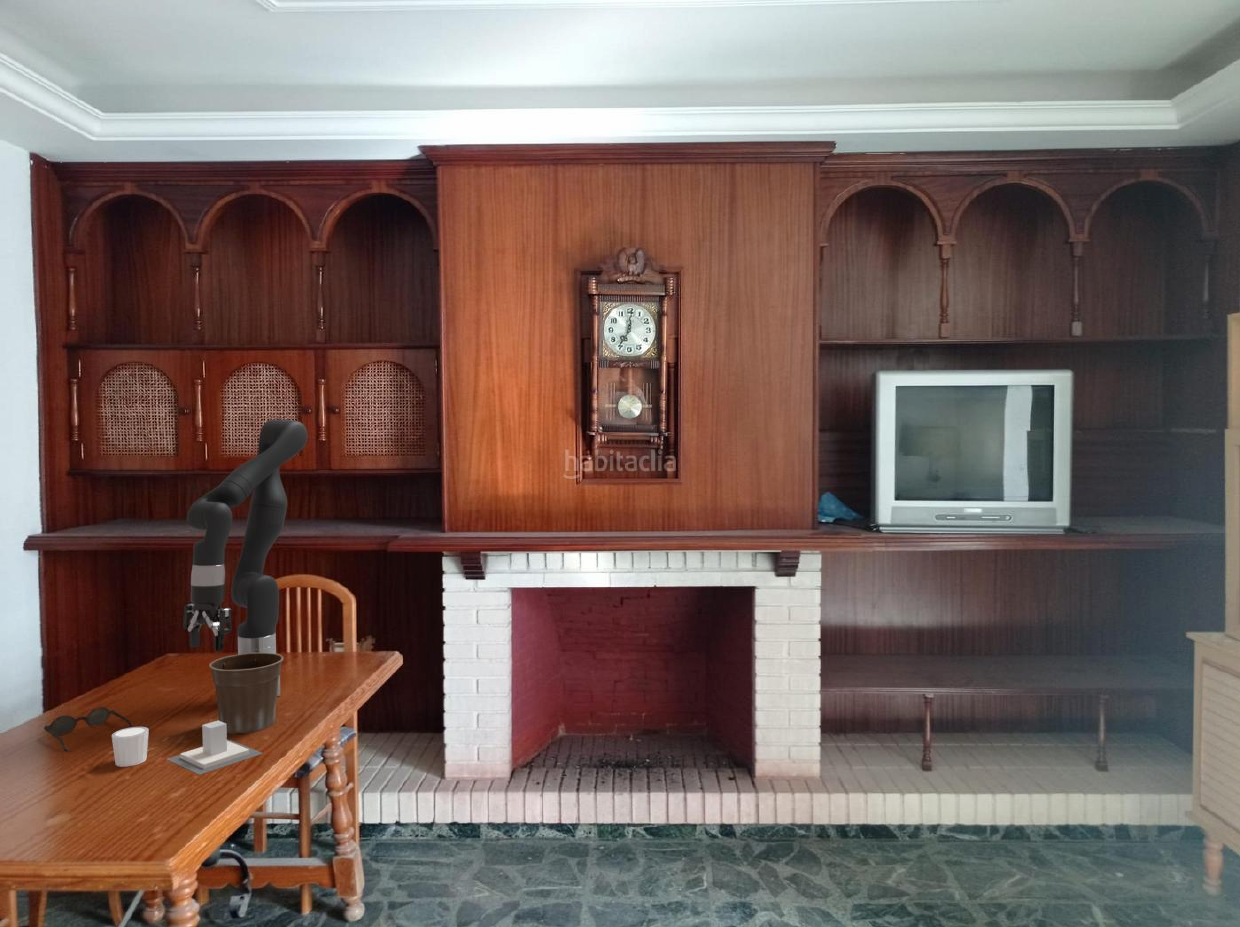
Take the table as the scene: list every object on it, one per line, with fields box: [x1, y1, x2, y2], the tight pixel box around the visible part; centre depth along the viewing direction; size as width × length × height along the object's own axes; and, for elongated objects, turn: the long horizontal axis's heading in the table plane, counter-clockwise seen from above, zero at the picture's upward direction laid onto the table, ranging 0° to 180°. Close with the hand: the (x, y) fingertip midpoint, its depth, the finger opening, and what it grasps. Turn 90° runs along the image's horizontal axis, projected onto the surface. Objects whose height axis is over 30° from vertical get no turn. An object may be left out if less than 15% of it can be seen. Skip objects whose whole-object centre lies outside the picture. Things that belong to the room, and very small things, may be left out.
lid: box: [179, 720, 249, 769], centre depth 181 cm, size 10×10×7 cm
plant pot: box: [208, 653, 284, 735], centre depth 201 cm, size 16×16×16 cm
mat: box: [166, 739, 264, 776], centre depth 181 cm, size 14×14×1 cm
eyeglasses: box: [43, 706, 133, 753], centre depth 195 cm, size 15×15×5 cm
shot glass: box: [111, 726, 150, 768], centre depth 179 cm, size 7×7×7 cm
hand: (206, 648), depth 206 cm, fingers open, 8 cm apart
